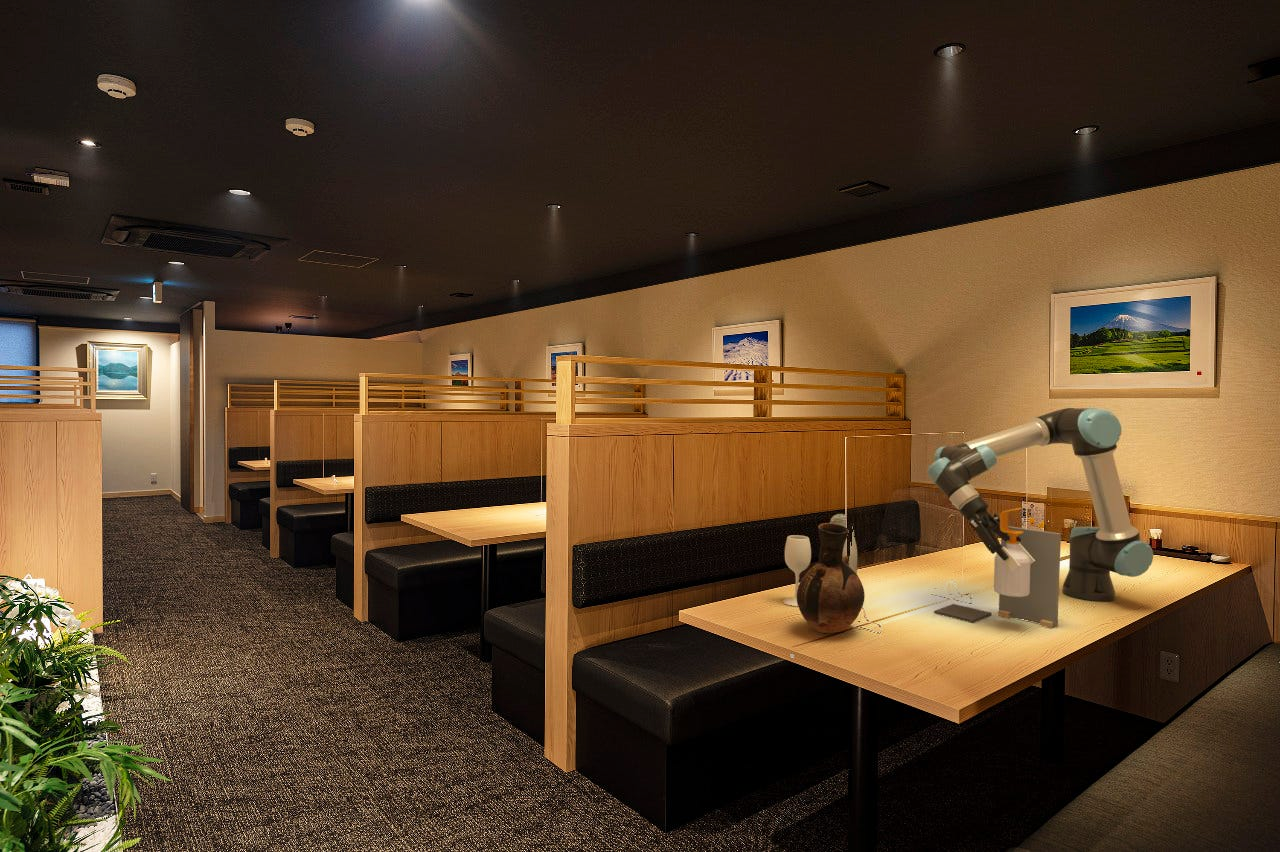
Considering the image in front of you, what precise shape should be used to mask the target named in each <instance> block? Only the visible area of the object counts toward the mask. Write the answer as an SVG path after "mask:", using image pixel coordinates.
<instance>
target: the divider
mask: <svg viewBox="0 0 1280 852" xmlns="http://www.w3.org/2000/svg"><path fill="white" fill-rule="evenodd" d="M1008 527H1009V528H1010V529H1011V530H1017V531H1023V532H1024V533H1022V534H1018V536H1019V537H1020V538H1021V541H1020V542H1019V543H1020V544H1021V545H1022V546H1023V547H1024V548H1025V550H1026V551H1027V552H1028V553H1029V554H1030V555H1031V556H1032V558H1033V559H1034V560H1035V561H1034V562H1033V563H1032V564H1030V592H1029V595H1028V596H1024V597H1012V596H1005V595H1001V594H998V597H999V598H998V599H999V600H998V611H997V617H1001V618H1004V617H1005V619H1010V618H1011V617H1012V619H1015V618H1018V619H1017V620H1020V619H1024V620H1028V621H1033V622H1037V623H1040V624H1039V626H1040V625H1042V626H1041V627H1043V626H1046V627H1045V628H1047V627H1050V628H1049V629H1053V628H1055V627H1056V626H1059V601H1060V599H1059V595H1060V593H1059V592H1060V567H1061V564H1060V563H1061V545H1062V542H1061V541H1062V533H1060V532H1054V531H1045V530H1044V531H1043V530H1039V529H1030V528H1023V527H1016V526H1009V525H1008ZM1000 544H1001V546H1002V547H1005V548H1006V541H1004V540H1003V539H1002V538H1001V537H1000ZM1002 547H1001V548H1002ZM1024 620H1023V621H1024ZM1028 621H1027V622H1028ZM1033 622H1032V623H1033ZM1037 623H1036V624H1037ZM1052 627H1053V628H1052ZM1056 628H1057V627H1056Z"/></svg>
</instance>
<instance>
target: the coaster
mask: <svg viewBox="0 0 1280 852" xmlns="http://www.w3.org/2000/svg"><path fill="white" fill-rule="evenodd" d="M934 613H936V614H935V615H940V616H943V615H944V616H943V617H948V618H951V617H952V618H951V619H955V618H956V620H959V619H960V621H963V620H964V621H963V622H967V621H968V623H971V624H974V623H977V622H978V621H981V620H984V619H986V618H988V617H991V616H992V615H993V614H992V613H993V612H991V611H987V610H982V609H977V608H973V607H969V606H964V605H959V604H956V603H951V604H950V605H947V606H943V607H941V608H938V609H936V610H934V611H933V614H934ZM976 621H977V622H976Z"/></svg>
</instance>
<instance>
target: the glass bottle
mask: <svg viewBox="0 0 1280 852" xmlns="http://www.w3.org/2000/svg"><path fill="white" fill-rule="evenodd" d="M846 515H847V514H846ZM846 515H845V514H844V513H837V514H835V515H833V516H832V517H831V518H830V521H829V523H835V524H839V525H842V526H844V527H846ZM852 529H853V526H852ZM854 536H855V529H854V530H853V532H852V546H851V542H850V556H849V566H850V567H851V568H852V569H853V570H854V571H855V572H856V574H857V573H858V547H857V541H856V537H854ZM844 556H846V541H845V544H844V548H843V557H844ZM857 575H858V574H857Z"/></svg>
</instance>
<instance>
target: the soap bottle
mask: <svg viewBox="0 0 1280 852" xmlns="http://www.w3.org/2000/svg"><path fill="white" fill-rule="evenodd" d="M1022 509H1023V508H1022V507H1018V508H1011V509H1007V510H1003V511H1001V513H1000V515H999V518H1000V530H1001V531H1002V532H1004V533H1008V536H1010V540H1007V541H1006V549H1007V550H1008V552H1009V553H1010V554H1011V555H1012V556H1013V557H1014V559H1015V560H1016V561H1017V562H1018V563H1019V564H1020V565H1021V566H1020V567H1018V568H1017V569H1016V570H1015V571H1013V572H1012V571H1011V570H1010V568H1009V567H1008V566H1007V565H1006V564H1005V563H1004V561H1003V560H1002V559H1001V558H1000V557H999V556H998V554H997V553H996V554H995V556H994V563H993V564H994V569H993V570H994V571H993V573H994V574H993V575H994V576H993V590H994V592H995V593H997V594H998V595H999V594H1001V595H1005V596H1012V597H1024V596H1028V595H1029V592H1030V559H1029V557H1028V556H1027V555H1026V554H1025V553H1023V552H1022V551H1020V550H1019V541H1016V537H1017V536H1018V534H1022V533H1024V532H1023V531H1017V530H1011V529H1009V528H1008V526H1009V524H1008V523H1009V521H1008V520H1009V514H1010V512H1013V511H1018V510H1022Z"/></svg>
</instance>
